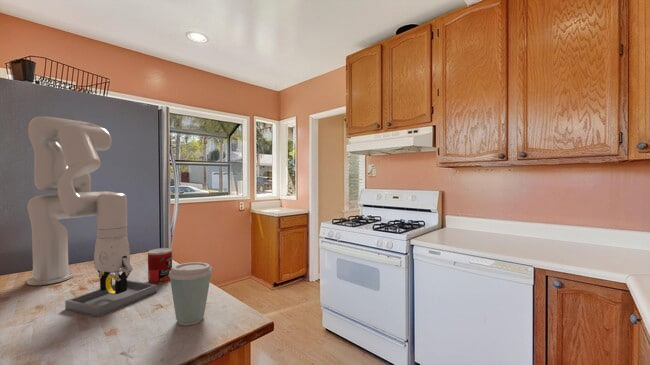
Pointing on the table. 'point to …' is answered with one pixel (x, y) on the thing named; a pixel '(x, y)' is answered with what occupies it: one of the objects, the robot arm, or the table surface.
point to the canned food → (159, 265)
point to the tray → (109, 299)
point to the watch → (108, 283)
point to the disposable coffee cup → (190, 291)
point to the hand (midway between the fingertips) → (113, 290)
